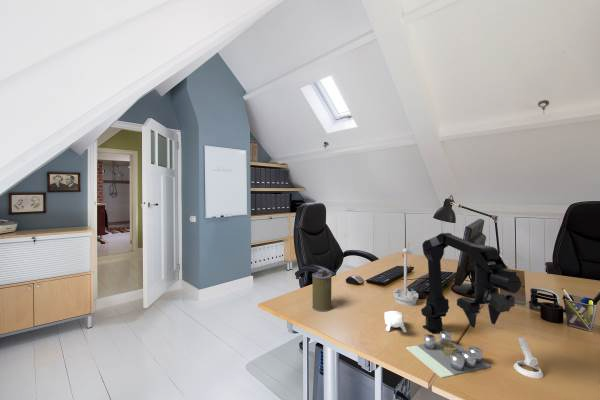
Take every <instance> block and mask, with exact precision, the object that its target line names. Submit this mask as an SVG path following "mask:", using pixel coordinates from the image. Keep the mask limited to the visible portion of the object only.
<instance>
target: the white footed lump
mask: <svg viewBox="0 0 600 400" xmlns="http://www.w3.org/2000/svg"><path fill="white" fill-rule="evenodd" d="M383 317H384V323H385V325H386V327H385V332H390V329H391V328H401V330H402V332H403V333H406V334H407V329H406V327H405V324H404V323H405V322H404V316H403V313H402V312H400V311H396V310H389V311H384V315H383Z"/></svg>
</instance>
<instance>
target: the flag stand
mask: <svg viewBox="0 0 600 400" xmlns="http://www.w3.org/2000/svg"><path fill="white" fill-rule="evenodd" d="M402 253H403V254H402V258H403V290H401V288H399V287H398V288H395V289H393V290H392V293H393V294H392V296H393V297H394V301H396V302H397V304H398V303H399V304H398V305H401V304H402V305H401V306H405V305H406V307H411V306H415V305H417V300H418V299H419V293H418V292H417V291H416V290H413V289H412V290H411V291H410V290H409V288H408V253H409V249H408V248H406V247H403V249H402ZM396 302H395V303H396Z"/></svg>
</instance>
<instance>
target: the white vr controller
mask: <svg viewBox="0 0 600 400" xmlns="http://www.w3.org/2000/svg"><path fill="white" fill-rule="evenodd" d="M517 340H518V343H519V346H520V348H521V351H522V353H523V355H524V360H517V361H516V362H515V363H513V364H514V365H513V368H514V370H515V371H516V372H517V373H519V374H521V375H523V376H525V377H528V378H531V379H542V378H543V377H544V373H543V371H542V369H541V367H539V366H538V364H539V361H538V359H537V358H536V357H535V356H533V355H532V352H531V349H530V347H529V345H528V343H527V341H526V338H525V337H521V336H520V337H518V338H517ZM520 365H523V366H528V367H531V368H533V369H535V370H537V371H531V370H528V369H525V368H524V367H521V366H520Z"/></svg>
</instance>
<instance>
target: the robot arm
mask: <svg viewBox="0 0 600 400" xmlns="http://www.w3.org/2000/svg"><path fill="white" fill-rule="evenodd" d="M448 247H451V248H453V249H456V250H458V251H460V252H462V253H463V254H465V255H467V256H468V257H469V259H471V260H472V261H473V262H472V263H470V265H469V266H470V267H472V268H474V269H475V274H474V275H475V277H474V278H475V279H474V282H472V284H471V286H472V287H473V288H474V293H472V294H471V297H472V298H470V297H467V296H464V297H459V298H457V299H456V306H458V307H459V308H461V309H462V311H463V312H464V314H465V316H466V318H467V320H468V322H469V323H468V324H469V325H470V327H471V328H473V329H474V328H475V327H476V324H477V315H478V314H479V313H481V311H480V310H481V306H485V305H487V307H488V312H489V318H490V323H491V324H492V325H496V323H497V321H498V319H499V316H500V315H501V313H505V312H510V310H511V308H514V307H515V306H516V305H515V303H516V302H515V301H516V300H515V296H513V294H516V293H518V292H519V291H520V289H521V287H522V281H521V278H520V277H519V276H518V275H517V271H514V270H510V269H507V268H508V267H507V265H506V264H505V262H504V261H503V258H502V257H501V255H500V253H499V251H498V249H497V248H496V247H494V246H490V245H485V244H476V243H473V242H471V241H468V240H465V239H464V238H461V237H458V236H457V235H454V234H452V233H451V232H450V233H449V232H442V233H439V234H438V235H436V236H434V237H432V238H429V239H426V240H424V241H423V242H422V252H423V253H422V254H423V255H424V256H425V258H426V259H427V269H428V283H429V284H428V285H429V294H428V296H427V298H426V302H425V306H423V307H422V308H421V309H420V311H421V314H422V316H424V317H425V324H424V325H422V328H423V329H425V330H426V331H428V332H430V333H431V334H440V331H446V330H445V329H443V317H445V318H446V316H447V313H448V312H449V309H450V306H449V299H448V298H446V297H445V296H444V294H443V283H442V282H443V280H442V278H443V277H442V264H441V260H442V258H443V257H444V255H445V249H446V248H448ZM499 289H500V290H503V291H506V292H509V293H511V294H506V295H505V294H501V293H499Z"/></svg>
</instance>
